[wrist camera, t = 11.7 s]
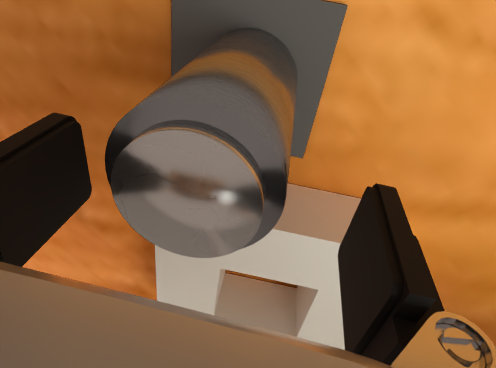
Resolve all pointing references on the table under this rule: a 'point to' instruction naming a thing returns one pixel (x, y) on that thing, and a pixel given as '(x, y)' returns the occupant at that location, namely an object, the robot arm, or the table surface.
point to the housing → (273, 272)
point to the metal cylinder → (209, 149)
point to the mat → (276, 23)
